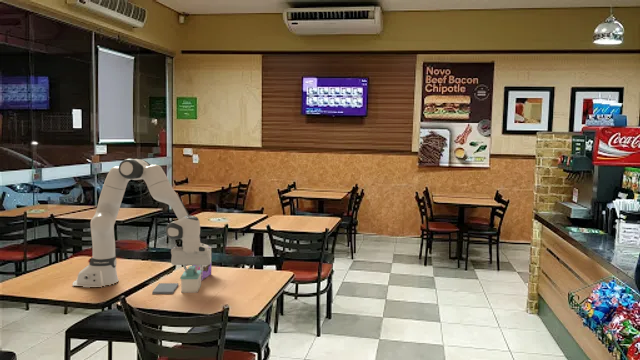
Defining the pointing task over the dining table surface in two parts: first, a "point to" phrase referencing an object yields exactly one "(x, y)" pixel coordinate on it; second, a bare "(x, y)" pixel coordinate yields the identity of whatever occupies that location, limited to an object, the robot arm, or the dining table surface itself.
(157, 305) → the dining table surface
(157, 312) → the dining table surface
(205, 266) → the candy box
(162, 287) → the mat
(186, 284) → the tub
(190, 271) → the lid
